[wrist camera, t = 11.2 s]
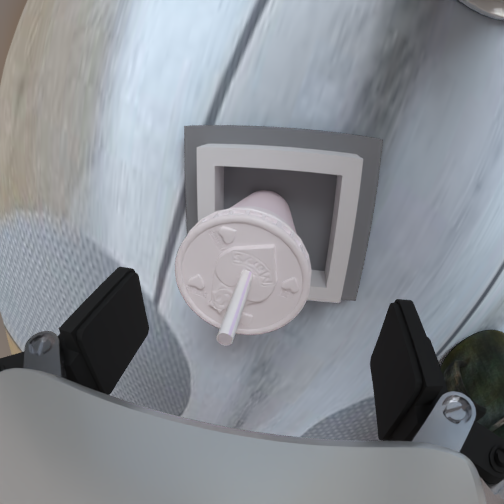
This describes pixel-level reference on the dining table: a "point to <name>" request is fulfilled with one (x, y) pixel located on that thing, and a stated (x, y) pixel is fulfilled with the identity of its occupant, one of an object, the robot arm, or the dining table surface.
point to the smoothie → (245, 267)
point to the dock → (293, 190)
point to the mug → (479, 376)
